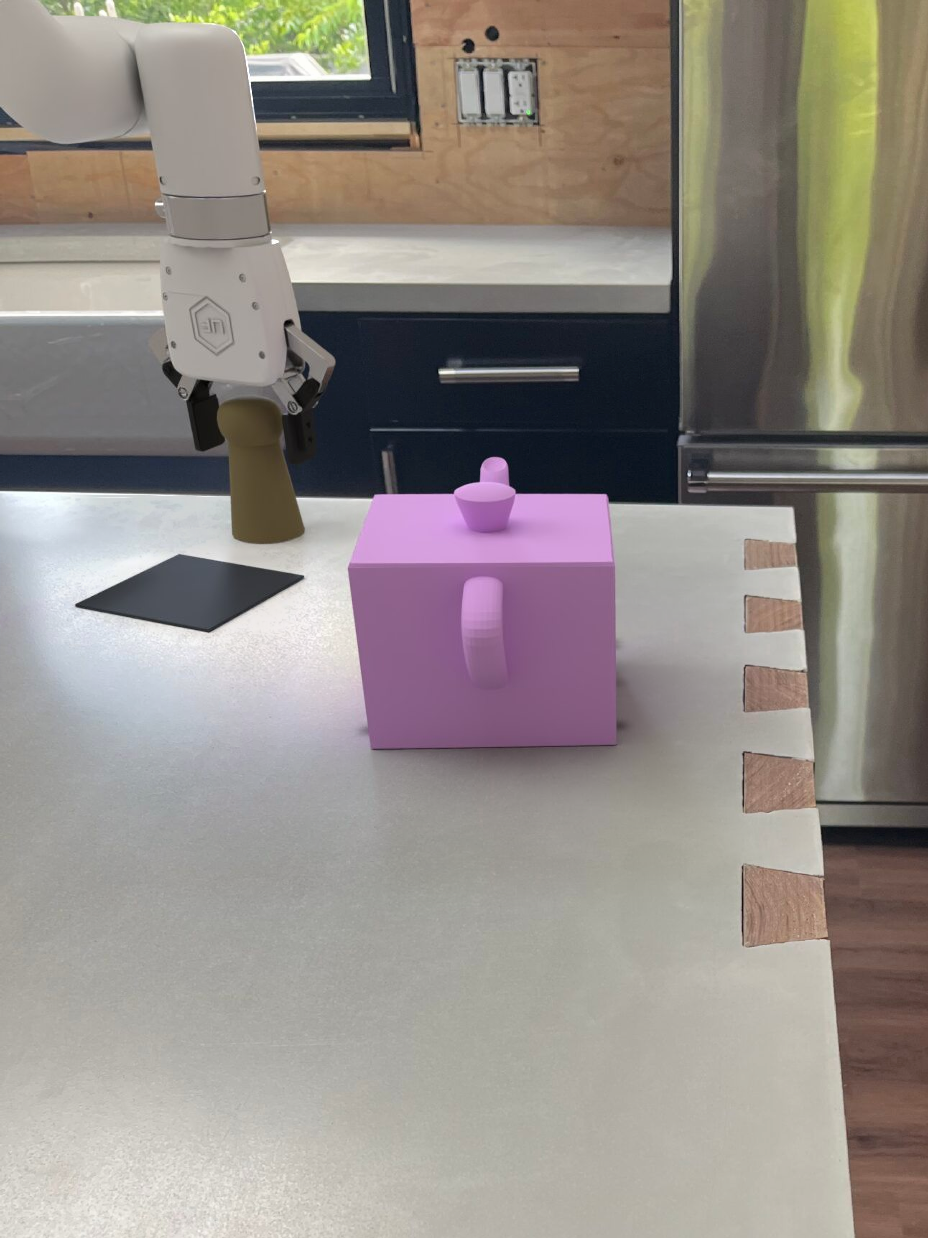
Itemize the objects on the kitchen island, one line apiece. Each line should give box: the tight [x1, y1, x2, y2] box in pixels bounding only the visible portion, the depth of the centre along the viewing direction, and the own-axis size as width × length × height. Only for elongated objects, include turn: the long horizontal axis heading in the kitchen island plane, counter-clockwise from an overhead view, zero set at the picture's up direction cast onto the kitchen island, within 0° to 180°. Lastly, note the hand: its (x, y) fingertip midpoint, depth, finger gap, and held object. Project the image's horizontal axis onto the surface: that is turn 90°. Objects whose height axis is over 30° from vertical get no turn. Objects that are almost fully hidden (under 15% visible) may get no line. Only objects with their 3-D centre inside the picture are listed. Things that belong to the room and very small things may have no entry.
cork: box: [217, 394, 306, 545], centre depth 110 cm, size 6×6×11 cm
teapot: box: [347, 456, 618, 750], centre depth 84 cm, size 15×25×14 cm, turn 5°
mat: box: [74, 553, 305, 633], centre depth 101 cm, size 12×12×1 cm
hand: (256, 453), depth 109 cm, fingers open, 8 cm apart
